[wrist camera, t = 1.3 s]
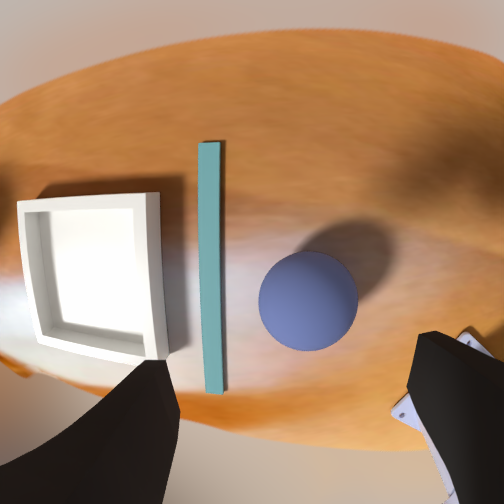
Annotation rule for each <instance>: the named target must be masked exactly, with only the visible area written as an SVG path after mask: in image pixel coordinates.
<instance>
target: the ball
mask: <svg viewBox="0 0 504 504" xmlns="http://www.w3.org/2000/svg"><path fill="white" fill-rule="evenodd" d="M357 308H358V293H357V288H356V285H355V282H354V280H353V278H352V276H351V274H350V273H349V271H348V270H347V269H346V268H345V267H344V266H343V265H342V264H341V263H340V262H339V261H338V260H336V259H334V258H333V257H331V256H329V255H326V254H323V253H319V252H310V251H306V252H299V253H295V254H292V255H289V256H287V257H285V258H283V259H282V260H280V261H279V262H277V263H276V264H275V265H274V266H273V267H272V268H271V269H270V270H269V272H268V273H267V275H266V276H265V278H264V280H263V282H262V285H261V288H260V292H259V312H260V316H261V319H262V321H263V324H264V326H265V327H266V329H267V330H268V332H269V333H270V334H271V335H272V336H273V337H274V338H275V339H276V340H277V341H278V342H280V343H281V344H283V345H285V346H287V347H289V348H292V349H295V350H300V351H316V350H320V349H323V348H326V347H328V346H331V345H332V344H334V343H336V342H337V341H338V340H340V339H341V338H342V337H343V336H344V335H345V334H346V333H347V331H348V330H349V329H350V327H351V325H352V324H353V321H354V319H355V316H356V313H357Z"/></svg>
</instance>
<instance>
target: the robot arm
mask: <svg viewBox="0 0 504 504" xmlns="http://www.w3.org/2000/svg"><path fill="white" fill-rule="evenodd" d="M469 340H470V342H469V343H468V344H467V342H468V341H469ZM407 389H408V392H409V393H408V394H407V395H406V396H405V397H404V398H403V399H402V400H401V401H400V402H398V403H397V404H396V405H395V406H394V407H393V408H392V410H391V414H392V416H393V417H394V418H396V419H398V420H400V421H401V422H403V423H405V424H407V425H409V426H411V427H413V428H415V429H417V430H418V431H420V432H422V434H423V436H424V438H425V440H426V443H427V445H428V447H429V449H430V452H431V454H432V456H433V459H434V461H435V463H436V466H437V468H438V470H439V473H440V475H441V478H442V481H443V483H444V485H445V488H446V490H447V493H448V496H449V499H447V500H446V501H445V502H444V503H442V504H504V362H502V361H499V360H497V359H495V358H494V357H493V356H492V355H491V354H490V353H489V352H488V351H487V350H486V349H485V348H484V347H483V346H482V345H481V344H480V343H479V342H478V341H477V340H476V339H475V338H474V337H473V336H472V335H471V334H470V333H468V332H463V333H462V334H461V335H460V336H459V337H458V338H457V340H456V339H454V338H452V337H450V336H448V335H445V334H443V333H440V332H438V331H431V332H427V333H422V334H419V335H418V340H417V345H416V349H415V354H414V358H413V363H412V367H411V371H410V375H409V379H408V383H407ZM401 413H403V414H401ZM400 414H401V415H400ZM179 421H180V408H179V405H178V402H177V399H176V395H175V392H174V389H173V385H172V382H171V378H170V374H169V371H168V367H167V363H166V360H144V361H143V362H142V363H141V364H140V365H138V366H137V367H136V368H135V369H134V370H133V371H132V372H131V373H130V374H129V375H128V376H127V377H126V378H125V379H124V380H122V381H121V382H120V383H119V384H118V385H117V386H116V387H115V388H114V389H113V390H112V391H111V392H109V393H108V394H107V395H106V396H105V397H104V398H103V399H102V400H101V401H100V402H98V404H96V405H95V406H94V407H93V408H91V409H90V410H89V411H88V412H86V413H85V414H84V415H83V416H82V417H80V418H79V419H78V420H77V421H76V422H74V423H73V424H72V425H70V426H69V427H68V428H66V429H65V430H64V431H62V432H61V433H59V434H58V435H56V436H55V437H54V438H52V439H50V440H49V441H47V442H46V443H44V444H43V445H41V446H39V447H37V448H36V449H34V450H32V451H30V452H28V453H26V454H24V455H22V456H20V457H18V458H16V459H14V460H12V461H10V462H8V463H6V464H4V465H1V466H0V504H162V502H163V498H164V494H165V490H166V485H167V481H168V477H169V473H170V469H171V465H172V461H173V457H174V453H175V449H176V444H177V439H178V431H179V430H178V429H179Z"/></svg>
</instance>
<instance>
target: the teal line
mask: <svg viewBox="0 0 504 504" xmlns="http://www.w3.org/2000/svg"><path fill="white" fill-rule="evenodd" d="M220 160H221V143H220V142H213V143H199V145H198V241H199V279H200V305H201V325H202V343H203V359H204V374H205V387H206V393H213V394H222V395H223V393H224V382H223V355H222V320H221V267H220Z"/></svg>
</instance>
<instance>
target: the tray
mask: <svg viewBox="0 0 504 504" xmlns="http://www.w3.org/2000/svg"><path fill="white" fill-rule="evenodd" d="M17 213H18V228H19V239H20V249H21V258H22V265H23V272H24V279H25V285H26V291H27V296H28V301H29V306H30V311H31V316H32V320H33V325H34V329H35V333H36V337H37V341H38V343H41V344H44V345H48V346H51V347H55V348H59V349H63V350H66V351H70V352H74V353H78V354H83V355H87V356H91V357H96V358H100V359H105V360H109V361H114V362H119V363H124V364H129V365H135V366H138V365H140V364H141V363H142V362H143V361H144V360H166V359H167V357H168V356H169V345H168V335H167V325H166V314H165V302H164V288H163V273H162V254H161V228H160V192H145V193H119V194H99V195H82V196H67V197H54V198H42V199H32V200H24V201H17Z"/></svg>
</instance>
